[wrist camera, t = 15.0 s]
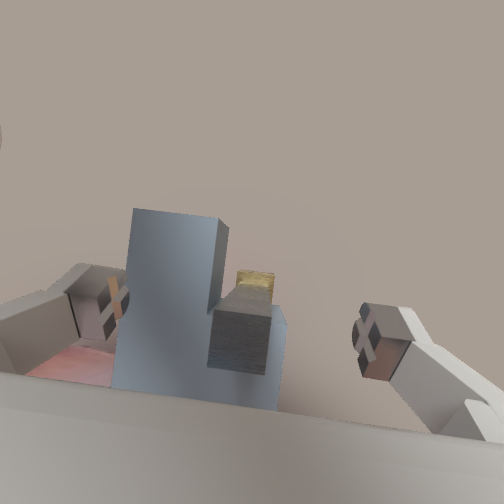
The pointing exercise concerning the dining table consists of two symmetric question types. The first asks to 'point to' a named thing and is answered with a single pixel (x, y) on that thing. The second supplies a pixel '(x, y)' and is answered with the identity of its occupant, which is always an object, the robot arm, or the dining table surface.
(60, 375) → the dining table surface
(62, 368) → the dining table surface
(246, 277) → the bar
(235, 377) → the stepped stand
